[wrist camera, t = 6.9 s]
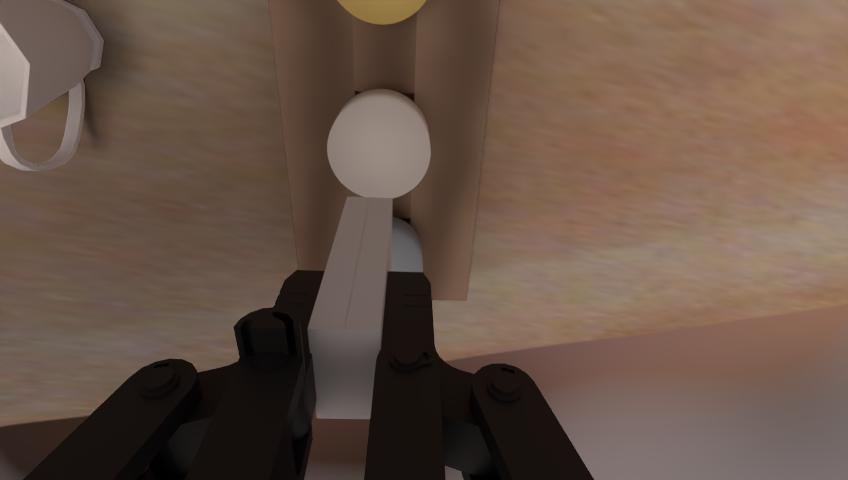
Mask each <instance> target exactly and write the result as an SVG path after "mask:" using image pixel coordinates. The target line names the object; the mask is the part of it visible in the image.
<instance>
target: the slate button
mask: <svg viewBox="0 0 848 480" xmlns="http://www.w3.org/2000/svg"><path fill="white" fill-rule="evenodd" d="M391 271H397V272H423V258H422V244H421V240H420V237H419V235H418V234H417V232H416V231H415V229H414V228H413V227H412V226H411V225H409V224H408V223H407V222H405V221H403V220H401V219H399V218H396V217H392V268H391Z"/></svg>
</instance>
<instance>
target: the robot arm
mask: <svg viewBox="0 0 848 480" xmlns="http://www.w3.org/2000/svg"><path fill="white" fill-rule="evenodd" d="M392 205H393V198H375V197H347V199H346V202H345V206H344V209H343V212H342V215H341V219H340V222H339V225H338V229H337V232H336V235H335V239H334V242H333V245H332V249H331V252H330V255H329V259H328V262H327V265H326V269H325V271H315V270H296V271H295V272H294V273H293V274H292V275H290V276H289V277H288V278H287V279H286V280H285V281H284V283H283V286H282V288H281V290H280V294H279V295H278V297H277V300H276V302H275V305H274V307H273V308H263V309H260V310H257V311H254V312H251V313H249V314H247V315H246V316H244V317H243V318H241V319H240V320H239V321H238V322H237V324H236V325H235V326H234V331H235V336H236V341H237V346H238V351H239V355H240V358H239V360H238V362H236V363H233V364H231V365H228V366H225V367H221V368H217V369H212V370H208V371H203V372H198V373H197V370H196V369H195V367H194V366H193V364H192V363H190V362H187V361H185V360H183V359H167V360H162V361H157V362H154V363H152V364H150V365H148V366H145V367H143V368H141V369H140V370H139V371H137V372H136V373H135V374H133V375H132V376H131V377H130V378H129V379H127V380H126V381H125V382H124V383H123V384H122V385H121V386H120V387H119V388H118V389H117V390H116V391H115V392H114V393H113V394H112V395H111V396H110V397H109V398H108V399H107V400H106V401H105V402H104V403H102V404H101V405H100V406H99V407H98V408H97V409H96V410H95V411H94V412H93V413H92V414H91V415H90V416H89V417H88V418H87V419H86V420H85V421H84V422H83V423H82V424H81V425H80V426H78V427H77V428H76V430H74V431H73V432H72V433H71V434H70V435H69V436H68V437H67V438H66V439H65V440H64V441H63V442H62V443H61V444H60V445H59V446H58V447H57V448H56V449H54V451H52V452H51V454H49V455H48V456H47V457H46V458H45V459H44V460H43V461H42V462H41V463H40V464H39V465H38V466H37V467H36V468H35V469H34V470H33V471H32V472H31V473H29V475H27V476H26V477H25V478H24V479H23V480H304V477H305V472H306V467H307V463H308V458H309V453H310V449H311V444H312V440H313V437H312V423H311V422H312V418H313V413H314V409H315V407H316V417H317V418H329V419H335V418H336V419H370V426H369V437H368V446H367V456H366V466H365V477H364V480H445V466H448V467H451V468H454V469H457V470H460V471H462V476H463V479H464V480H594V479H593V477H592V476H591V474H590V472H589V471H588V469H587V468H586V466H585V464H584V463H583V461H582V459H581V458H580V456H579V454H578V453H577V451H576V450H575V448H574V446H573V445H572V443H571V441H570V440H569V438H568V436H567V435H566V433H565V432H564V430H563V428H562V426H561V425H560V424H559V422H558V420H557V418H556V417H555V415H554V413H553V412H552V410H551V408H550V407H549V405H548V404H547V402H546V400H545V399H544V397H543V395H542V394H541V392H540V390H539V389H538V387H537V386H536V384H535V382H534V381H533V380H532V379H531V378H530V377H529V375H528V374H526V373H525V372H524V371H522V370H520V369H519V368H517V367H514V366H511V365H507V364H490V365H487V366H484V367H482V368H481V369H480V370H478V371H477V372H476V373H475V374H472V373H469V372H465V371H461V370H458V369H456V368H454V367H452V366H450V365H449V364H447V363H445V362H444V361H443V360H442V359H441V358H440V357H439V355H438V353H437V352H436V349H435V345H434V329H433V312H432V298H431V296H432V295H431V283H430V281H429V280H428V279H427V277H426V276H425V275H424V273H423V272H397V271H391V268H392Z"/></svg>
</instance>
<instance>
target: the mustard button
mask: <svg viewBox="0 0 848 480" xmlns="http://www.w3.org/2000/svg"><path fill="white" fill-rule="evenodd" d="M337 1H338V2H339V3H340V4H341V5H342V6H343V7H344V8H345V9H346V10H347V11H348V12H349V13H351V14H352V15H353V16H355V17H357V18H359V19H361V20H363V21H365V22H369V23H372V24H380V25H384V24H393V23H397V22H400V21H403V20H405V19H407V18H408V17H410V16H411V15H413V14H414V13H415V12H417V11H418V10H419V9H420V8H421V7H422V5H423V4H424V3H425V2H426V0H337Z"/></svg>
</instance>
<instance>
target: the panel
mask: <svg viewBox="0 0 848 480" xmlns="http://www.w3.org/2000/svg"><path fill="white" fill-rule="evenodd" d="M268 2H269V11H270V20H271V29H272V38H273V47H274V56H275V65H276V73H277V82H278V91H279V100H280V109H281V118H282V127H283V136H284V145H285V154H286V163H287V171H288V180H289V189H290V198H291V207H292V216H293V225H294V234H295V243H296V252H297V260H298V269H299V270H315V271H325V269H326V265H327V262H328V259H329V255H330V252H331V249H332V245H333V242H334V239H335V235H336V232H337V229H338V225H339V222H340V219H341V215H342V212H343V209H344V206H345V202H346V199H347V197H363V196H360V195H358V194H356V193H354V192H352V191H351V190H349V189H348V188H347V187H345V186H344V185H343V184H342V183H341V182H340V181H339V180H338V178H337V177H336V176H335V174H334V172H333V170H332V168H331V166H330V163H329V159H328V154H327V142H328V137H329V133H330V130H331V128H332V126H333V124H334V122H335V120H336V118H337V116H338V115H339V113H340V111H341V109H342V108H343V106H344V105H345V104H346V103H347V102H348V101H349V100H350V99H351V98H353V97H354V96H356V95H357V94H359V93H361V92H364V91H367V90H371V89H389V90H393V91H396V92H399V93H401V94H403V95H405V96H407V97H408V98H409V99H411V100H412V101H413V102H414V103H415V104H416V105H417V106H418V107H419V109H420V110H421V112H422V113H423V115H424V117H425V119H426V122H427V125H428V131H429V139H430V147H431V156H430V162H429V166H428V169H427V171H426V173H425V175H424V177H423V179H422V180H421V181H420V182H419V184H418V185H417V186H416V187H415V188H413V189H412V190H411V191H409V192H407V193H406V194H404V195H402V196H399V197H396V198H393V205H392V217H396V218H399V219H401V220H403V221H405V222H407V223H408V224H409V225H411V226H412V227H413V228H414V229H415V231H416V232H417V234H418V235H419V237H420V240H421V244H422V258H423V273H424V275H425V276H426V277H427V279H428V280H429V281H430V283H431V295H432V296H431V298H432V300H458V301H467V292H468V283H469V274H470V264H471V255H472V246H473V237H474V228H475V219H476V210H477V201H478V192H479V183H480V174H481V165H482V156H483V147H484V138H485V129H486V120H487V111H488V102H489V93H490V84H491V74H492V65H493V56H494V47H495V38H496V29H497V20H498V11H499V2H500V0H426V2H425V3H424V4H423V5H422V7H421V8H420V9H419V10H418V11H417V12H415V13H414V14H413V15H411V16H410V17H408V18H407V19H405V20H403V21H400V22H397V23H393V24H384V25H380V24H372V23H369V22H365V21H363V20H361V19H359V18H357V17H355V16H353V15H352V14H351V13H349V12H348V11H347V10H346V9H345V8H344V7H343V6H342V5H341V4H340V3H339V2H338V1H337V0H268Z"/></svg>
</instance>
